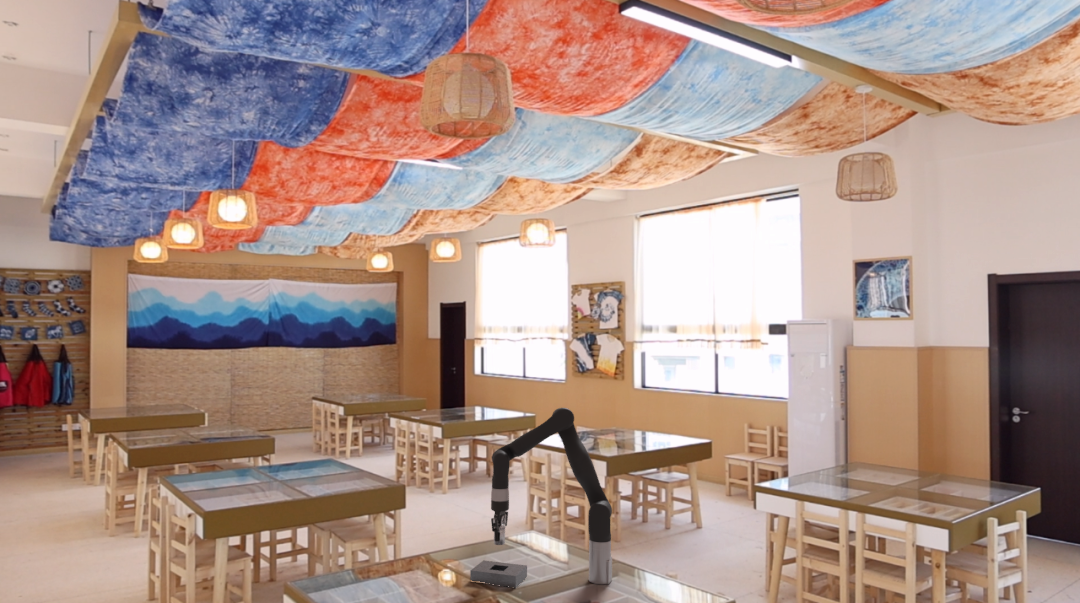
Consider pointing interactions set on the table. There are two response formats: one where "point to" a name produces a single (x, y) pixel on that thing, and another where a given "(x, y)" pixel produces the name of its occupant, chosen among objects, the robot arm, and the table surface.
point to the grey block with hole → (499, 573)
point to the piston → (501, 536)
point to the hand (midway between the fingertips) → (499, 539)
